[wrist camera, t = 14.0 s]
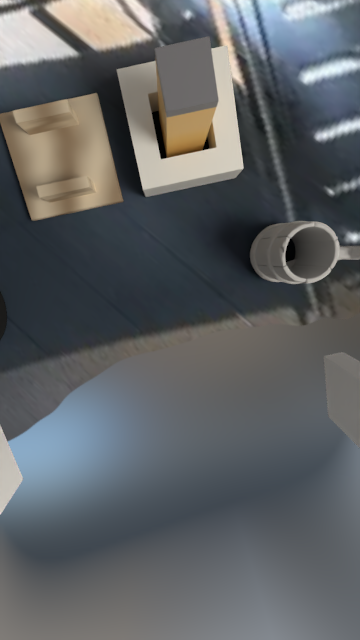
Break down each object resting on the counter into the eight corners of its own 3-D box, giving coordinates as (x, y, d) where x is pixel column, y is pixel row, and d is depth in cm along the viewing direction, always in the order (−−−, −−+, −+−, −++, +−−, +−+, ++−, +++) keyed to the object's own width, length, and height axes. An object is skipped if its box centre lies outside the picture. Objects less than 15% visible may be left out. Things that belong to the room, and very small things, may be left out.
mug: (248, 224, 37) (285, 211, 25) (333, 224, 37) (408, 210, 25) (245, 281, 38) (279, 292, 27) (326, 279, 39) (393, 290, 27)
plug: (167, 160, 34) (166, 111, 23) (159, 120, 33) (154, 48, 22) (201, 152, 34) (218, 100, 23) (194, 112, 33) (209, 36, 22)
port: (145, 197, 35) (142, 190, 31) (122, 91, 32) (116, 69, 28) (235, 177, 35) (243, 168, 31) (220, 70, 32) (227, 45, 28)
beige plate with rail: (34, 220, 35) (19, 216, 32) (1, 117, 32) (-20, 100, 29) (123, 201, 35) (118, 195, 32) (98, 96, 32) (89, 76, 29)
